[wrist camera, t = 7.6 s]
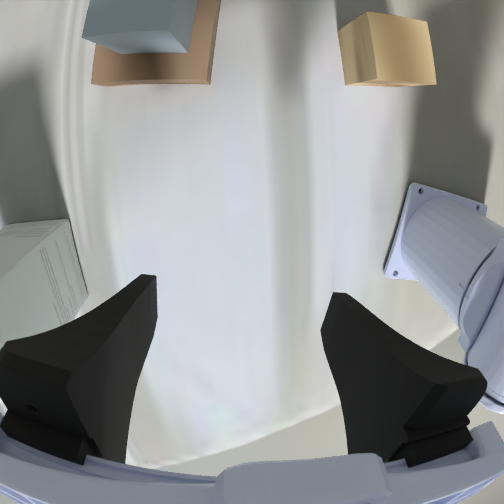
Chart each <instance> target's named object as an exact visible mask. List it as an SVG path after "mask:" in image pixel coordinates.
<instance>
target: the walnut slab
mask: <svg viewBox="0 0 504 504" xmlns="http://www.w3.org/2000/svg"><path fill="white" fill-rule="evenodd" d="M220 4H221V0H198V2H197V7H196V12H195V17H194V23H193V28H192V34H191V39H190V45H189V51H188V53H130V54H120V53H118V52H116V51H113V50H111V49H109V48H106V47H104V46H102V45H99V44H97V43H96V47H95V54H94V62H93V70H92V80H91V84H95V85H102V86H120V85H137V84H208V85H210V82H211V73H212V64H213V55H214V47H215V40H216V32H217V25H218V18H219V11H220Z"/></svg>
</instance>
